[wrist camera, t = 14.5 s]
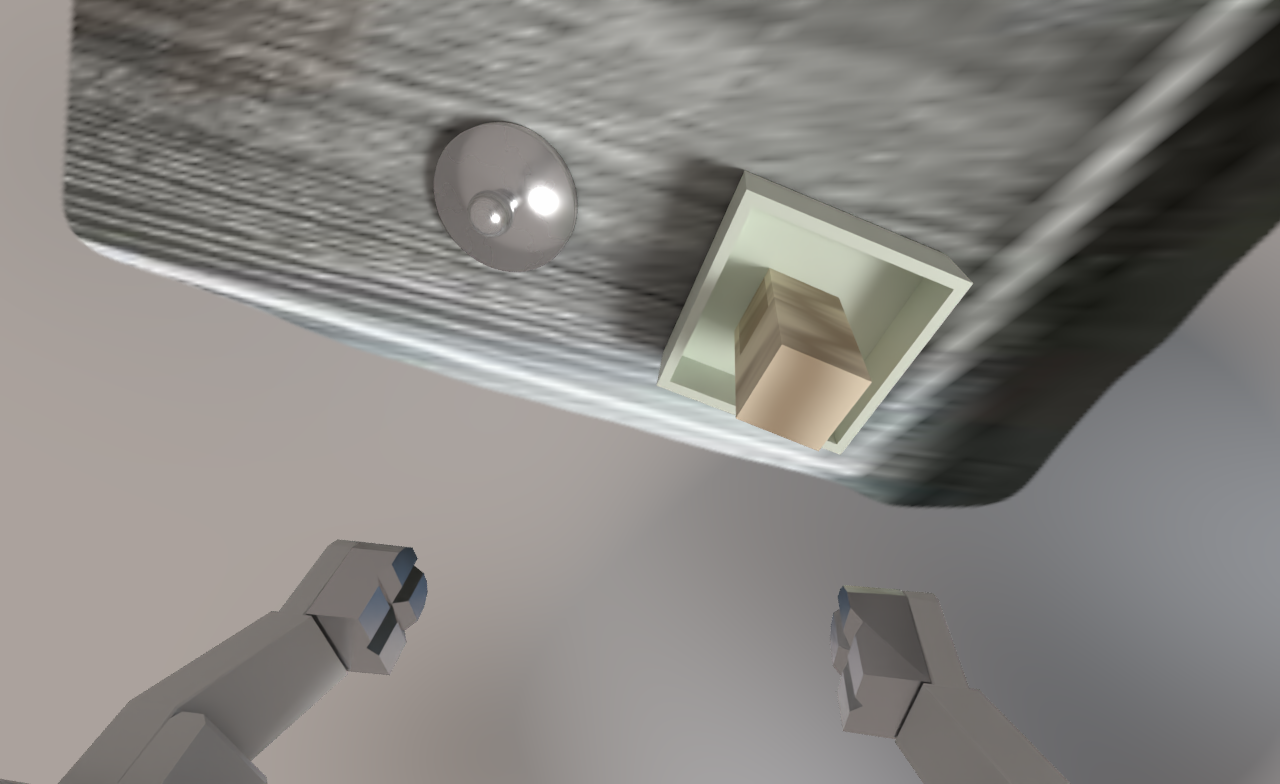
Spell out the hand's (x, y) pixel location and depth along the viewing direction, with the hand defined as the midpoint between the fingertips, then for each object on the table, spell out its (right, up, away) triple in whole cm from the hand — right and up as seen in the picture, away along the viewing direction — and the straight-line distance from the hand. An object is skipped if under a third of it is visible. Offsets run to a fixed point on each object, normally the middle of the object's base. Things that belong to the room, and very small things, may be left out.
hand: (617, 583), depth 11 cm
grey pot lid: (-7, +15, +21) cm, 27 cm away
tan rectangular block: (+9, +8, +22) cm, 25 cm away
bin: (+10, +9, +23) cm, 26 cm away
